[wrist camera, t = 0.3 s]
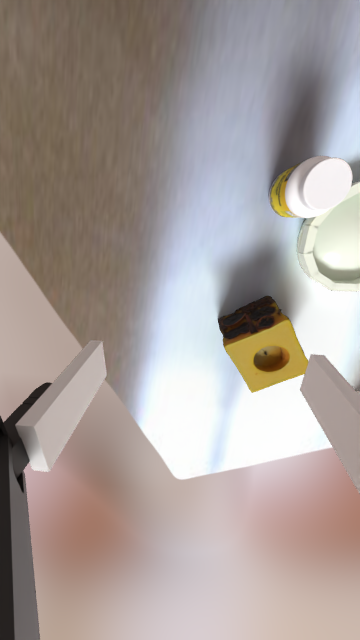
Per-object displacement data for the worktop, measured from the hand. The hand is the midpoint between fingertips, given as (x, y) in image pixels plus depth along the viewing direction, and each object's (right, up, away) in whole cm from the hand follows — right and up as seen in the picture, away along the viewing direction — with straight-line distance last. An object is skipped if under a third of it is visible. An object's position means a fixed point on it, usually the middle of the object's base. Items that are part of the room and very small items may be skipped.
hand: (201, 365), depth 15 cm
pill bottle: (+15, +21, +19) cm, 32 cm away
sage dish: (+24, +15, +20) cm, 35 cm away
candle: (+12, +1, +28) cm, 31 cm away
